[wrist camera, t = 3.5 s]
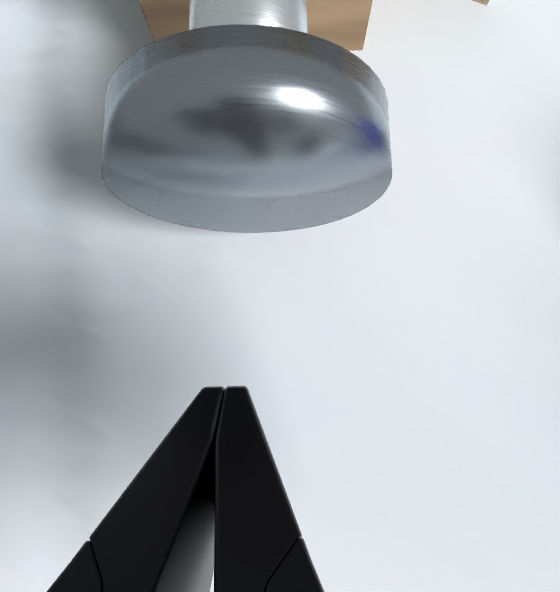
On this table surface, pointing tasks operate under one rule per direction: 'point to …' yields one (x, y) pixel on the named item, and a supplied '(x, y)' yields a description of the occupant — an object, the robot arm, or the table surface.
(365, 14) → the bearing block
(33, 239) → the table surface
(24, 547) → the table surface
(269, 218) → the shaft
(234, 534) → the robot arm
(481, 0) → the spacer block
